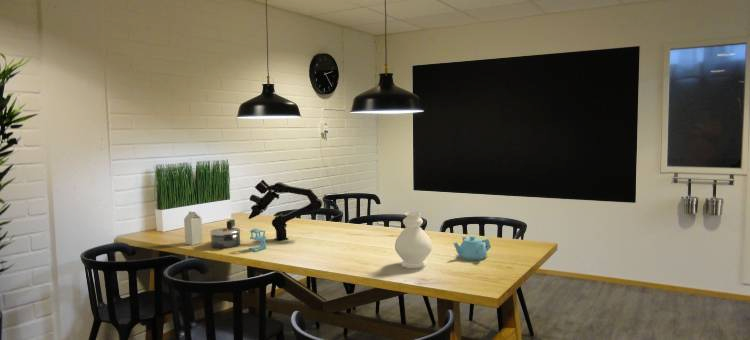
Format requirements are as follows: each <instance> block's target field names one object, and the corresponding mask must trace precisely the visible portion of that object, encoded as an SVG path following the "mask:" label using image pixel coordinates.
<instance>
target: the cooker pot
mask: <svg viewBox="0 0 750 340" xmlns="http://www.w3.org/2000/svg"><path fill="white" fill-rule="evenodd" d="M240 233H241V232H240ZM240 233H238V234H235V235H229V236H212V235H210V239H211V240H210V241H211V243H210V244H211V248H212V249H217V250H219V249H220V250H222V249H223V250H224V249H232V248H237V247H240V246H241V234H240Z"/></svg>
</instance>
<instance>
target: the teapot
mask: <svg viewBox="0 0 750 340" xmlns="http://www.w3.org/2000/svg"><path fill="white" fill-rule="evenodd" d="M453 245H454V248H455V250H456V253H457V254H458V256H459V257H460V258H461V259H462V260H466V261H481V260H483V259H485V258H486V257H487V256H488V255H487V252H488V251H490V249H491V244H490V240H489V238H488V237H485V238H482V239H481V238H478V237H476V236H475V235H469V237H467V236H462V242H461V243H460V245H459V244H458V242H454V243H453Z"/></svg>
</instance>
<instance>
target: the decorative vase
mask: <svg viewBox="0 0 750 340" xmlns="http://www.w3.org/2000/svg"><path fill="white" fill-rule="evenodd" d="M421 215H422V213H421V212H418V211H408V212H405V213H404V216H406V217H404V218H403V220H402V224H403V225H404V226H405V228H404V229H403V230H402V231H401V232H400V233H399V235H398V236H397V238H396V239H395V243H394V250H395V252H396V253H397V255H398V256H399V258H401V260H402V261H401V262H400V267H403V268H408V269H420V268H424V267H426V266H428V263H427V261H425V260H426V259H427V258H428V256H429V255H430V253H431V252H432V250H433V243H432V239H431V238H430V237H429V235H428V234H427V233H426V232H425V231H424V229H423V228H422V227H421V226H422V225H423V223H424V221H423V219H422V218H421Z"/></svg>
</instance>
